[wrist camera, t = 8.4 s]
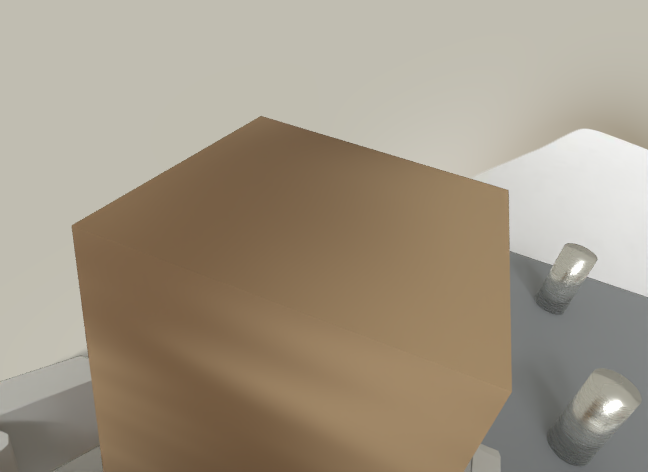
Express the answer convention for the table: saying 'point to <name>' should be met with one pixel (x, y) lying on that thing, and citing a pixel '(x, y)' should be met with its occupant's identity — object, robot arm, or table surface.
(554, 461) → the plate
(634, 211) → the table surface
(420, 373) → the oak block
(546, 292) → the standoff pins
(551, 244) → the table surface
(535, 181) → the table surface
